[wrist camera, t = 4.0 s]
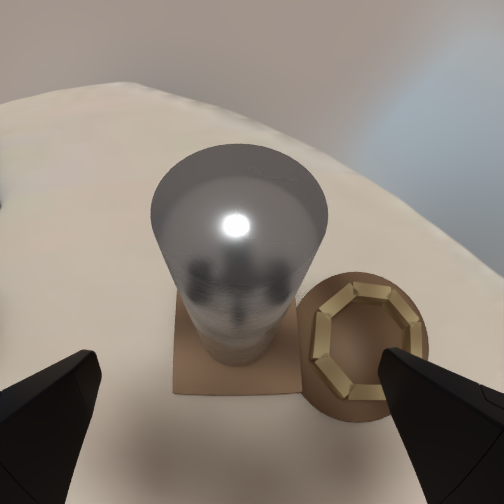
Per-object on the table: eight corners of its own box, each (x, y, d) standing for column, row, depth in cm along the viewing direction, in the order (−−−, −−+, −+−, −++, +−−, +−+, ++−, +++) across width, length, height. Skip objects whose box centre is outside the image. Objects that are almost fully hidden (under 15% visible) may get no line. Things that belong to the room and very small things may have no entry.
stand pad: (300, 392, 17) (302, 391, 17) (174, 393, 17) (172, 393, 16) (291, 279, 21) (293, 276, 21) (179, 280, 21) (178, 276, 20)
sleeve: (228, 380, 17) (213, 325, 6) (188, 325, 19) (124, 187, 7) (284, 340, 18) (361, 221, 7) (243, 289, 20) (256, 127, 9)
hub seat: (353, 453, 15) (363, 456, 14) (252, 333, 19) (254, 326, 18) (446, 348, 19) (459, 343, 17) (362, 250, 23) (369, 239, 21)
